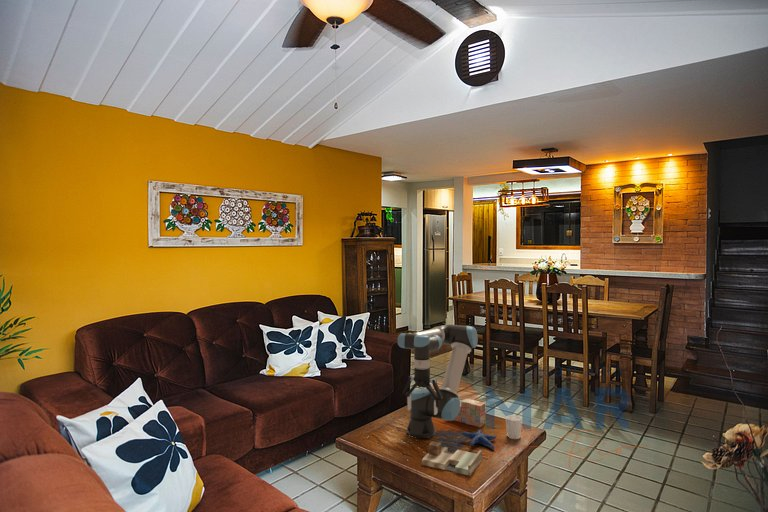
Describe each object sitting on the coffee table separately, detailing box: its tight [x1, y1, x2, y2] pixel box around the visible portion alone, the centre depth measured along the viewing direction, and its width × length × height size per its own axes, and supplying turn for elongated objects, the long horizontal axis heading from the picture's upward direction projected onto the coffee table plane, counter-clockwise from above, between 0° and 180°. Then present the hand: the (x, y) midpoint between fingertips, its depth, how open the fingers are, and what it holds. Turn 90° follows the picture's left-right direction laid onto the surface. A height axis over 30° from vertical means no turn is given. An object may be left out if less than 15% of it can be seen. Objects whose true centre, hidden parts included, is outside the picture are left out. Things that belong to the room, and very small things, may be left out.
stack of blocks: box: [453, 398, 486, 428], centre depth 263 cm, size 21×6×12 cm, turn 50°
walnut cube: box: [428, 440, 442, 456], centre depth 217 cm, size 4×4×4 cm
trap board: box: [421, 445, 483, 477], centre depth 212 cm, size 23×17×4 cm
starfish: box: [461, 429, 497, 451], centre depth 232 cm, size 19×19×5 cm
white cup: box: [505, 414, 522, 440], centre depth 240 cm, size 8×8×10 cm
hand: (422, 411), depth 220 cm, fingers open, 13 cm apart
